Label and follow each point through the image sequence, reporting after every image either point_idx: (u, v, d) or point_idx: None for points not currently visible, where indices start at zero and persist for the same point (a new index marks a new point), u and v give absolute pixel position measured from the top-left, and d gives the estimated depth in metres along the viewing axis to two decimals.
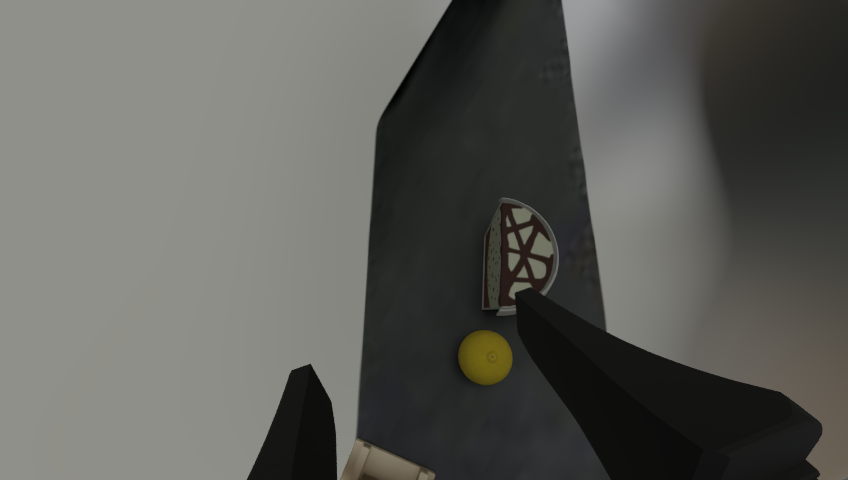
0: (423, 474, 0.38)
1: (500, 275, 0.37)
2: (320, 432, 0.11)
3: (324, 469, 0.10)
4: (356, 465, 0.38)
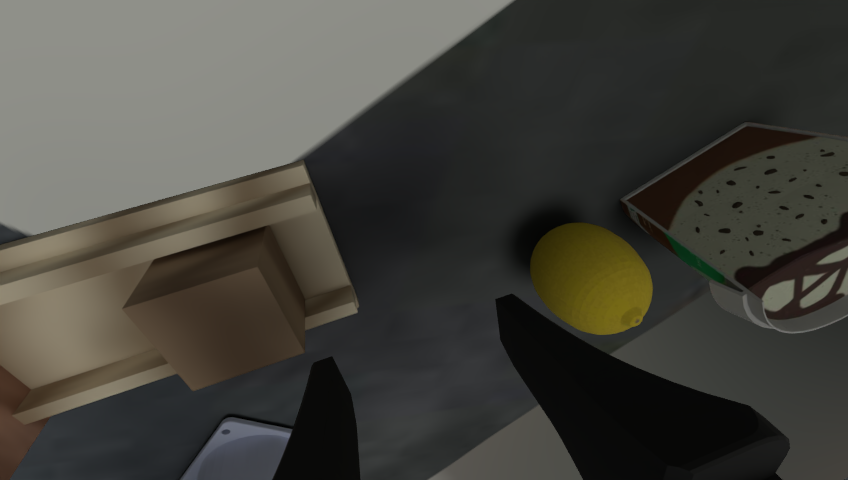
0: (353, 306, 0.20)
1: (801, 249, 0.17)
2: (344, 423, 0.11)
3: (349, 460, 0.10)
4: (271, 209, 0.16)
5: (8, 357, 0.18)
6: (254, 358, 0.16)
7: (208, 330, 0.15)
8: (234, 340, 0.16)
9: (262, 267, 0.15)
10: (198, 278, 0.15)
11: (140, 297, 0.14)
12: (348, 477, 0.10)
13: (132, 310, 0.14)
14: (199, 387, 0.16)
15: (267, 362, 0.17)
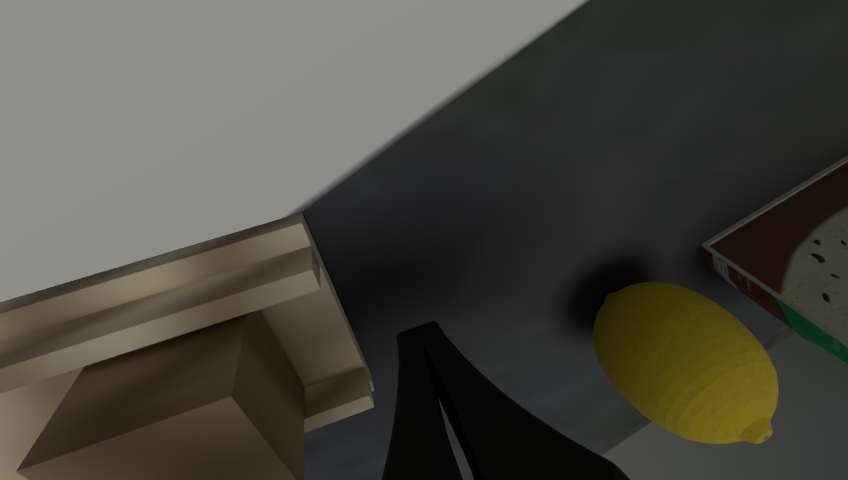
0: (368, 401, 0.15)
1: None
2: (434, 389, 0.11)
3: (443, 423, 0.11)
4: (255, 292, 0.11)
5: None
6: None
7: None
8: None
9: (240, 389, 0.10)
10: (141, 412, 0.10)
11: (49, 446, 0.09)
12: None
13: (34, 471, 0.09)
14: None
15: None
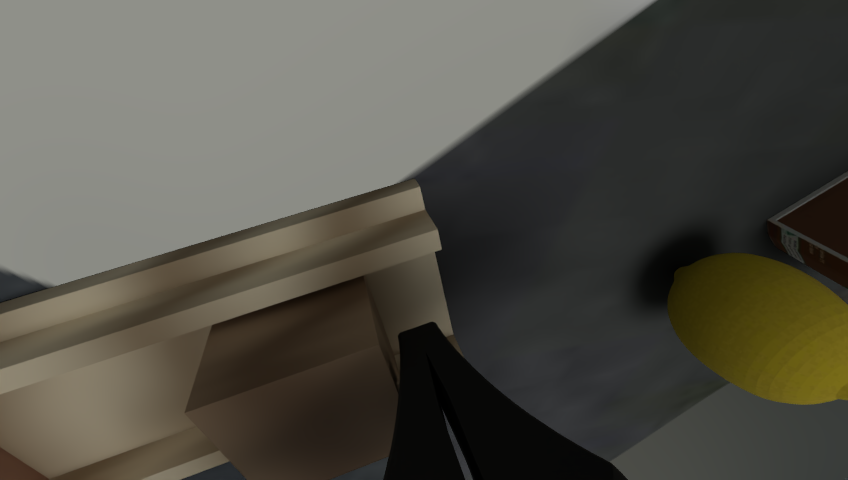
0: None
1: None
2: (436, 389, 0.11)
3: None
4: (384, 250, 0.12)
5: (20, 443, 0.13)
6: (354, 457, 0.12)
7: (300, 430, 0.11)
8: (332, 438, 0.11)
9: (379, 341, 0.10)
10: (291, 360, 0.10)
11: (209, 391, 0.10)
12: None
13: (199, 413, 0.09)
14: None
15: (369, 460, 0.12)
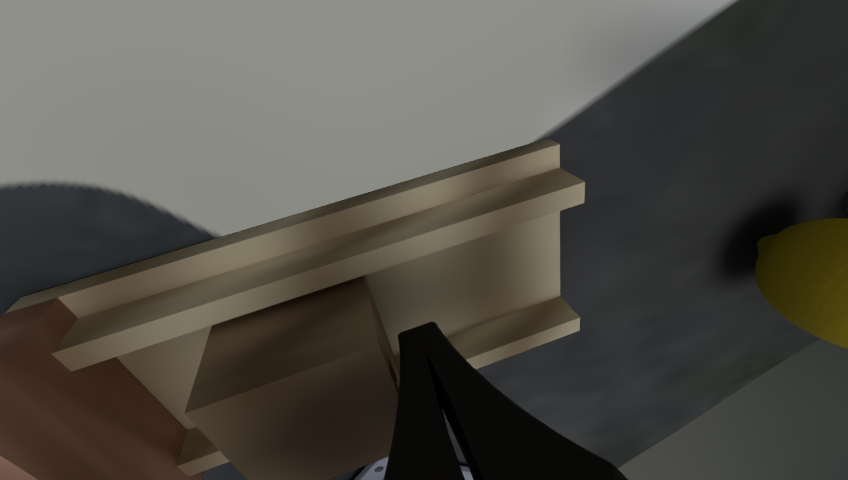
0: (577, 323, 0.16)
1: None
2: (436, 389, 0.11)
3: None
4: (536, 201, 0.12)
5: (170, 392, 0.14)
6: (354, 458, 0.12)
7: (300, 430, 0.11)
8: (332, 439, 0.11)
9: (379, 341, 0.10)
10: (291, 360, 0.10)
11: (209, 392, 0.10)
12: None
13: (199, 413, 0.09)
14: None
15: (369, 460, 0.12)
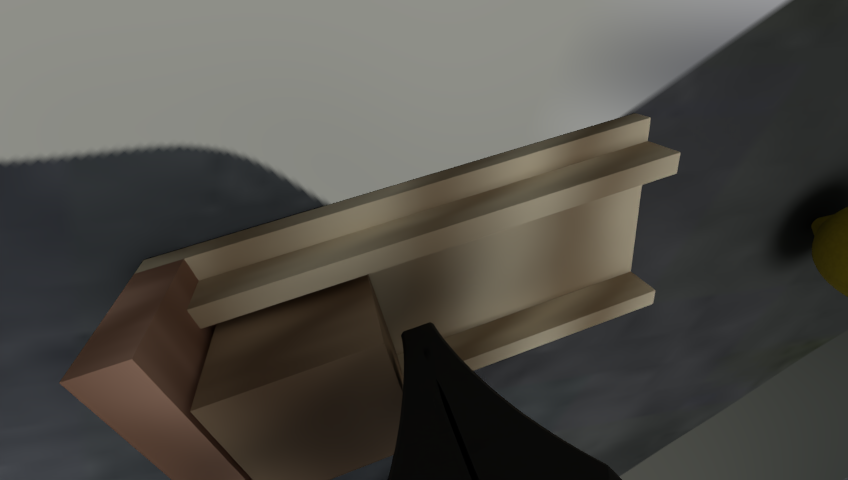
0: (652, 296, 0.17)
1: None
2: None
3: None
4: (634, 171, 0.13)
5: None
6: (357, 456, 0.12)
7: (304, 429, 0.11)
8: (336, 437, 0.11)
9: (384, 339, 0.10)
10: (296, 359, 0.10)
11: (214, 390, 0.10)
12: None
13: (204, 411, 0.09)
14: None
15: (373, 459, 0.12)
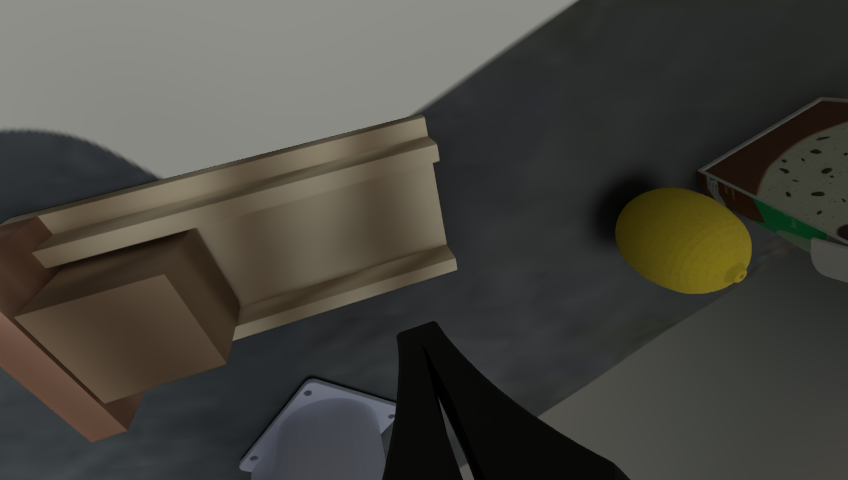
0: (454, 263, 0.20)
1: None
2: (435, 389, 0.11)
3: (443, 423, 0.11)
4: (399, 157, 0.17)
5: None
6: (170, 370, 0.16)
7: (115, 340, 0.14)
8: (146, 350, 0.15)
9: (173, 274, 0.14)
10: (102, 285, 0.14)
11: (36, 305, 0.13)
12: None
13: (26, 319, 0.13)
14: (111, 399, 0.16)
15: (185, 373, 0.16)
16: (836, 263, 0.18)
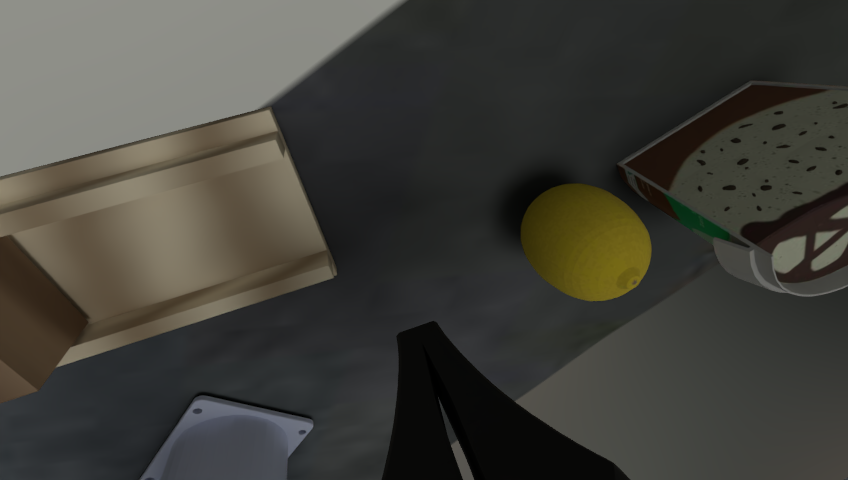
0: (328, 271, 0.19)
1: (813, 202, 0.16)
2: (434, 389, 0.11)
3: (443, 423, 0.11)
4: (232, 155, 0.15)
5: None
6: None
7: None
8: None
9: None
10: None
11: None
12: None
13: None
14: None
15: None
16: (741, 266, 0.16)
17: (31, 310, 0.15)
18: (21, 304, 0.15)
